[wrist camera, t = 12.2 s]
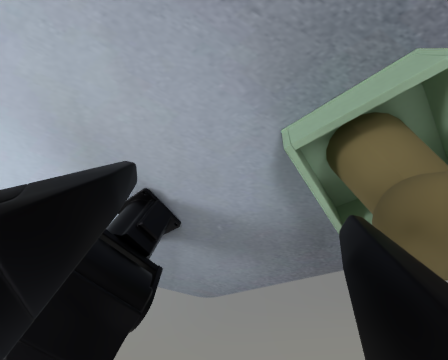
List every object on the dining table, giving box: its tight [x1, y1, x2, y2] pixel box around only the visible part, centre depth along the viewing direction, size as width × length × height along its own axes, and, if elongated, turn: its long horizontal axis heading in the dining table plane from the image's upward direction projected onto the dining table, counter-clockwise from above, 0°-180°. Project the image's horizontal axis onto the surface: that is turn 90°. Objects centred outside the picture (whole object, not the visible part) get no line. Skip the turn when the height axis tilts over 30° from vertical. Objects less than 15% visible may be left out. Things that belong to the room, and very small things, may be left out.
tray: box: [281, 48, 448, 234], centre depth 16 cm, size 10×10×4 cm
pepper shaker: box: [326, 112, 448, 280], centre depth 13 cm, size 6×6×11 cm
